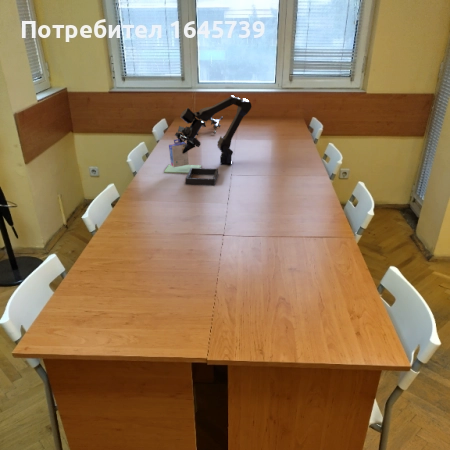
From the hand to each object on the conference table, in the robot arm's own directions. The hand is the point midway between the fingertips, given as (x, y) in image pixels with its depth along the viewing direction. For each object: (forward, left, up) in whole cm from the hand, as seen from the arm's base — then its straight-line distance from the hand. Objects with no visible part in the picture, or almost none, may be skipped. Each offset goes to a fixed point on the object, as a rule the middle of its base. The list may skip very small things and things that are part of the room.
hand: (179, 151), depth 262 cm
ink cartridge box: (0, +1, -8) cm, 8 cm away
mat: (-1, -2, -11) cm, 11 cm away
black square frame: (-15, +14, -11) cm, 23 cm away
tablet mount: (+1, -98, -3) cm, 98 cm away
